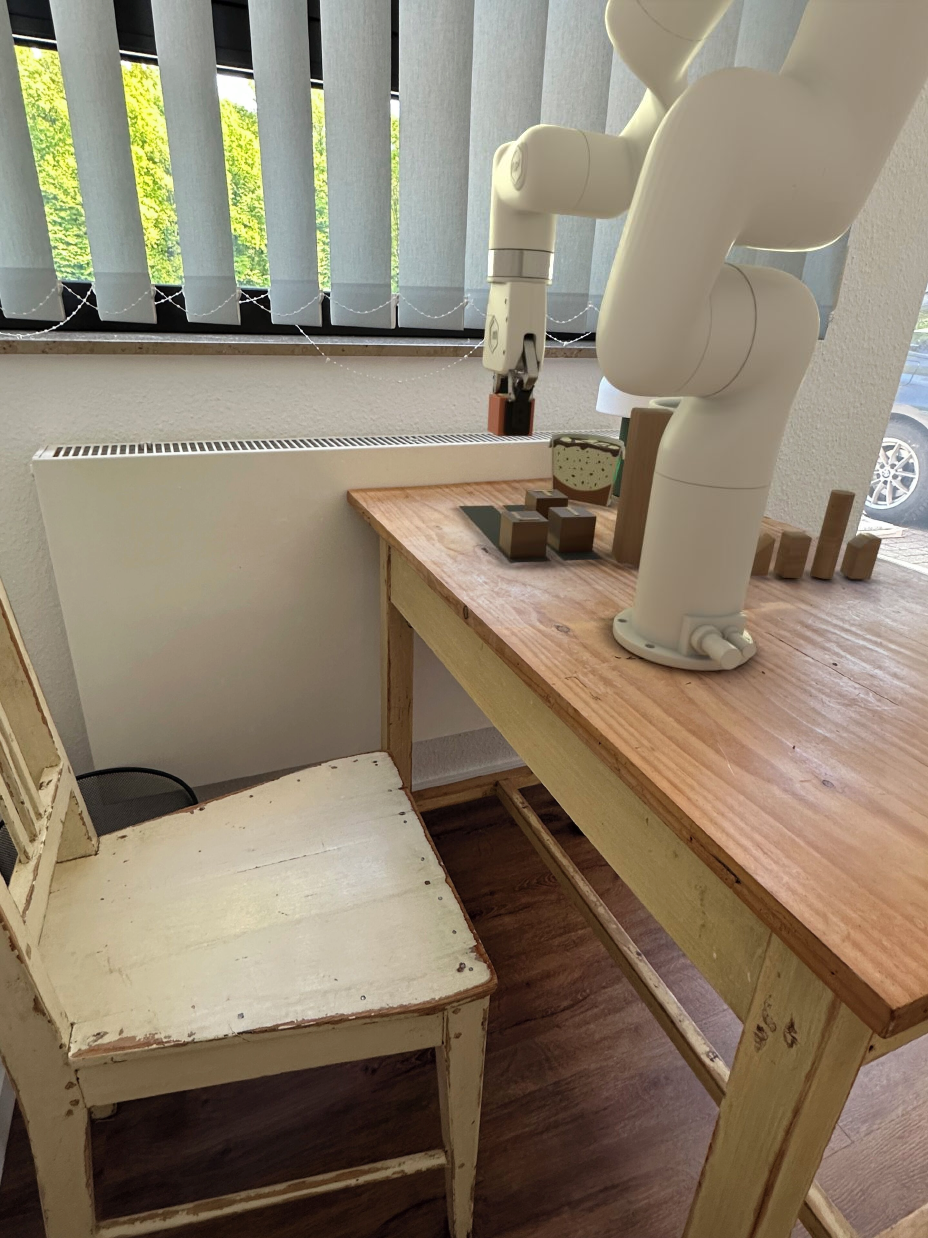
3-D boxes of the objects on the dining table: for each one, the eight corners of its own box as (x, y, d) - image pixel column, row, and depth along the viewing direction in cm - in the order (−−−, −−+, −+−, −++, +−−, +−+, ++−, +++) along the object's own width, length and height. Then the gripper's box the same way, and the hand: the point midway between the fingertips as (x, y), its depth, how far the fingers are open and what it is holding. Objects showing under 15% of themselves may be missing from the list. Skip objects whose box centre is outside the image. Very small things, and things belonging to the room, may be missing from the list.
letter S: (532, 436, 89) (535, 397, 87) (497, 436, 87) (499, 396, 86) (520, 430, 93) (523, 393, 91) (487, 430, 91) (489, 392, 90)
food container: (630, 504, 114) (639, 440, 110) (615, 512, 109) (625, 445, 105) (559, 491, 119) (565, 429, 115) (543, 497, 115) (549, 434, 111)
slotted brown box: (592, 551, 89) (596, 515, 87) (558, 552, 88) (562, 516, 86) (578, 540, 93) (582, 505, 91) (545, 541, 92) (549, 506, 90)
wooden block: (682, 558, 90) (708, 410, 82) (692, 571, 86) (721, 416, 78) (610, 555, 90) (630, 406, 82) (617, 567, 86) (639, 412, 78)
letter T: (565, 530, 97) (569, 496, 95) (533, 531, 96) (536, 497, 94) (553, 520, 101) (556, 488, 99) (522, 521, 99) (525, 488, 98)
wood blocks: (857, 574, 88) (881, 490, 83) (870, 581, 85) (895, 496, 81) (659, 570, 85) (674, 484, 81) (666, 578, 83) (682, 489, 79)
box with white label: (545, 557, 86) (549, 520, 84) (509, 559, 85) (512, 521, 83) (533, 545, 90) (536, 509, 88) (498, 546, 89) (501, 510, 87)
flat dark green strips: (603, 563, 87) (604, 558, 86) (509, 567, 84) (510, 562, 83) (534, 508, 109) (534, 504, 108) (458, 509, 106) (458, 505, 105)
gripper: (469, 271, 89) (463, 421, 96) (512, 264, 74) (501, 443, 81) (526, 274, 91) (516, 422, 98) (579, 268, 76) (562, 443, 83)
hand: (509, 430), depth 90 cm, fingers closed on letter S, 4 cm apart
